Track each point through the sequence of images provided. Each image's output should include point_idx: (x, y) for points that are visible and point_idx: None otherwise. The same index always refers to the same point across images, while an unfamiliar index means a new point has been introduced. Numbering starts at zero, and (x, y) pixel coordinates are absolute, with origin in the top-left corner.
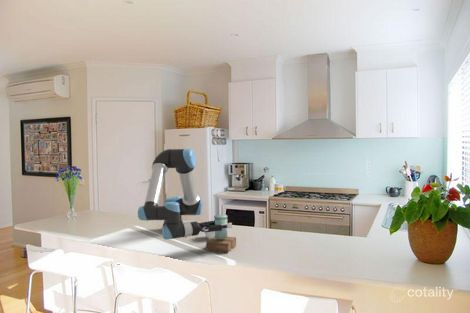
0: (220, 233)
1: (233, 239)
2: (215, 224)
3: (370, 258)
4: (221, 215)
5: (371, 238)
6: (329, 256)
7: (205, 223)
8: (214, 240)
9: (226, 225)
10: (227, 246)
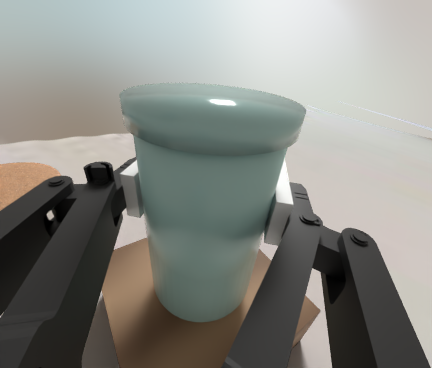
0: (248, 274)
1: None
2: (199, 227)
3: (415, 150)
4: (199, 91)
5: (314, 116)
6: (401, 167)
7: (22, 364)
8: (173, 336)
9: (305, 189)
10: (312, 321)
